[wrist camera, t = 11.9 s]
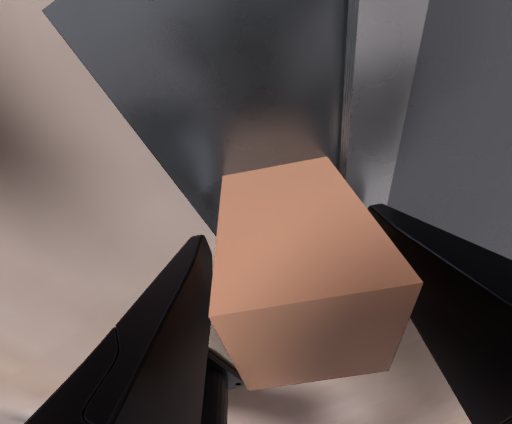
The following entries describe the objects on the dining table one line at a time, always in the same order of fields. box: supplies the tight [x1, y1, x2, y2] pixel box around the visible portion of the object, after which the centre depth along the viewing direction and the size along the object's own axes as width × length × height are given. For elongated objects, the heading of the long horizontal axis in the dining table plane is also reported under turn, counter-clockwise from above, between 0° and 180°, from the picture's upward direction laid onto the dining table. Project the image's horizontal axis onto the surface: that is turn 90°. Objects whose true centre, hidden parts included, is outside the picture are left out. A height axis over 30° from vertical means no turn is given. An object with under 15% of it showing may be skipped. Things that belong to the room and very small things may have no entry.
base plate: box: [42, 0, 512, 260], centre depth 8 cm, size 16×18×1 cm
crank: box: [339, 0, 429, 209], centre depth 6 cm, size 14×4×4 cm, turn 9°
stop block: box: [208, 157, 423, 391], centre depth 7 cm, size 4×4×5 cm
